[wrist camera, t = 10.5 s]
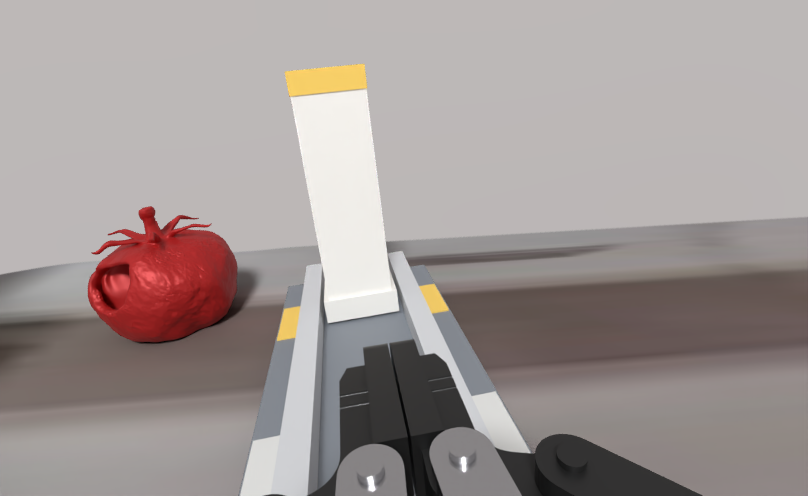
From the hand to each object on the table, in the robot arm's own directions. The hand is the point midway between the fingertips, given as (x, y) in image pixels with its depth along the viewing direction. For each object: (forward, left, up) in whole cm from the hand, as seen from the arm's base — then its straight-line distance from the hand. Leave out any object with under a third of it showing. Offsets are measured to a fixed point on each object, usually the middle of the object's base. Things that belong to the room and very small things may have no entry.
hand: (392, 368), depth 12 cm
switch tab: (+7, +14, -6) cm, 16 cm away
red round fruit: (-2, +26, -8) cm, 27 cm away
